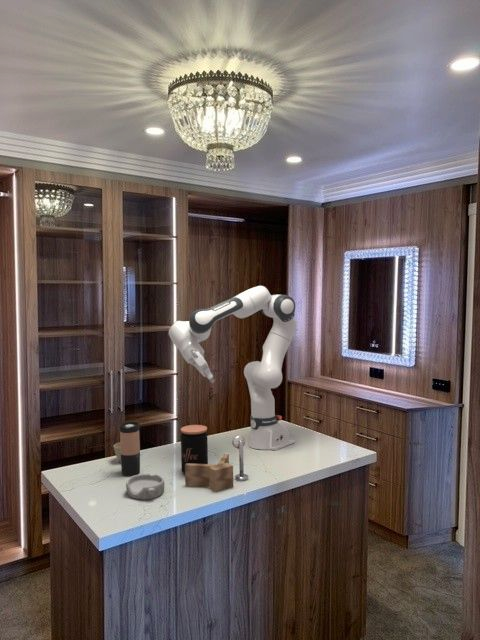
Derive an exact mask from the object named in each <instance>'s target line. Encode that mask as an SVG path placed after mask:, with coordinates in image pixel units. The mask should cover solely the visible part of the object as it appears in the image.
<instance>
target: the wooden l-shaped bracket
mask: <svg viewBox="0 0 480 640" xmlns="http://www.w3.org/2000/svg"><path fill="white" fill-rule="evenodd" d="M184 480H185V481H184V482H185V483H184V484H185V487H196V488H202V487H203V488H209V490H210V491H212V492H214V493H217V492H221V491H224V490H227V489H230V488H234V465H232V464H231V463H230V457H229V453H223V455H222V456H221V458H220V459H219V461H218V463H217V464H213V463H211V464H210V463H208V464H191V463H186V464H185V475H184Z"/></svg>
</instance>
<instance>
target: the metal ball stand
mask: <svg viewBox="0 0 480 640" xmlns="http://www.w3.org/2000/svg"><path fill="white" fill-rule="evenodd" d="M231 444H232V447H233V448H235V449H237V450H238V451H239V452H238V453H239V454H238V456H239V457H238V458H239V460H238V461H239V464H238V465H239V473H237V474H236V475H235V476H234V480H236V481H238V482H246V481H248V480H249V475H248V474H246V473H245V471H244V469H245V468H244V467H245V466H244V462H245V461H244V446H245V444H246V439H245V437H244V436H242V435H239V434H237V435H235V436H234V437H232V441H231Z"/></svg>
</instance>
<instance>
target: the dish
mask: <svg viewBox="0 0 480 640" xmlns="http://www.w3.org/2000/svg"><path fill="white" fill-rule="evenodd" d="M125 488H126V493H127V494H128V496H129V497H130V498H132V499H135V500H136V499H137V500H152V499H154V498H157V497H159V496H161V495H162V494H164V491H165V479H164V477H162V475H159V474H157V473H156V474H151V473H142V474H140V473H139V474H138V475H135V476H131V477H129V478H127V480H126V482H125Z"/></svg>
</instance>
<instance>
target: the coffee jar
mask: <svg viewBox="0 0 480 640" xmlns="http://www.w3.org/2000/svg"><path fill="white" fill-rule="evenodd" d="M180 432H181V434H180V456H181V457H180V460H181V461H180V462H181V472H182V474H183V475H184V476H185V464H186V463H191V464H209V460H208V459H209V455H208V453H209V449H208V448H209V447H208V446H209V445H208V426H205V425H203V424H189V425H185V426H182V427H181V428H180Z"/></svg>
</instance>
